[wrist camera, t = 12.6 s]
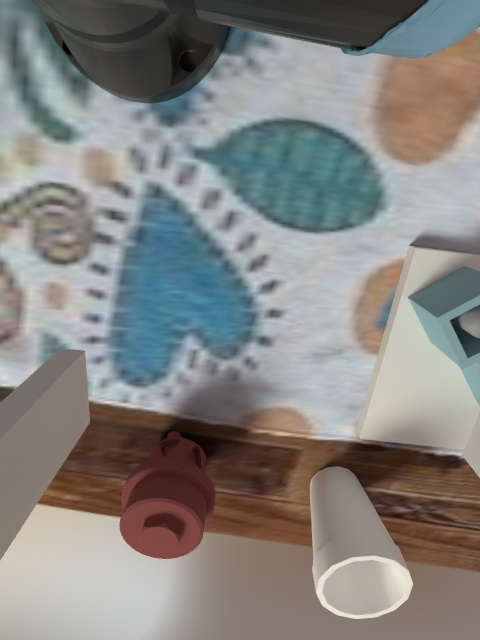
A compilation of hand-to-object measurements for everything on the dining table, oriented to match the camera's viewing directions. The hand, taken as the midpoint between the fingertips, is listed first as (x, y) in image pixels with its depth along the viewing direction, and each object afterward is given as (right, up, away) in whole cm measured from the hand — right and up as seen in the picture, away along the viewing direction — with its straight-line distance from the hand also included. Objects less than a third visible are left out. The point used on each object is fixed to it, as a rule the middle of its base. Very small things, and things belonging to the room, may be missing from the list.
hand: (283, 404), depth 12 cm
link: (+23, 0, +26) cm, 35 cm away
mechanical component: (-9, -14, +34) cm, 38 cm away
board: (+23, -1, +29) cm, 37 cm away
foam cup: (+11, -19, +36) cm, 42 cm away
